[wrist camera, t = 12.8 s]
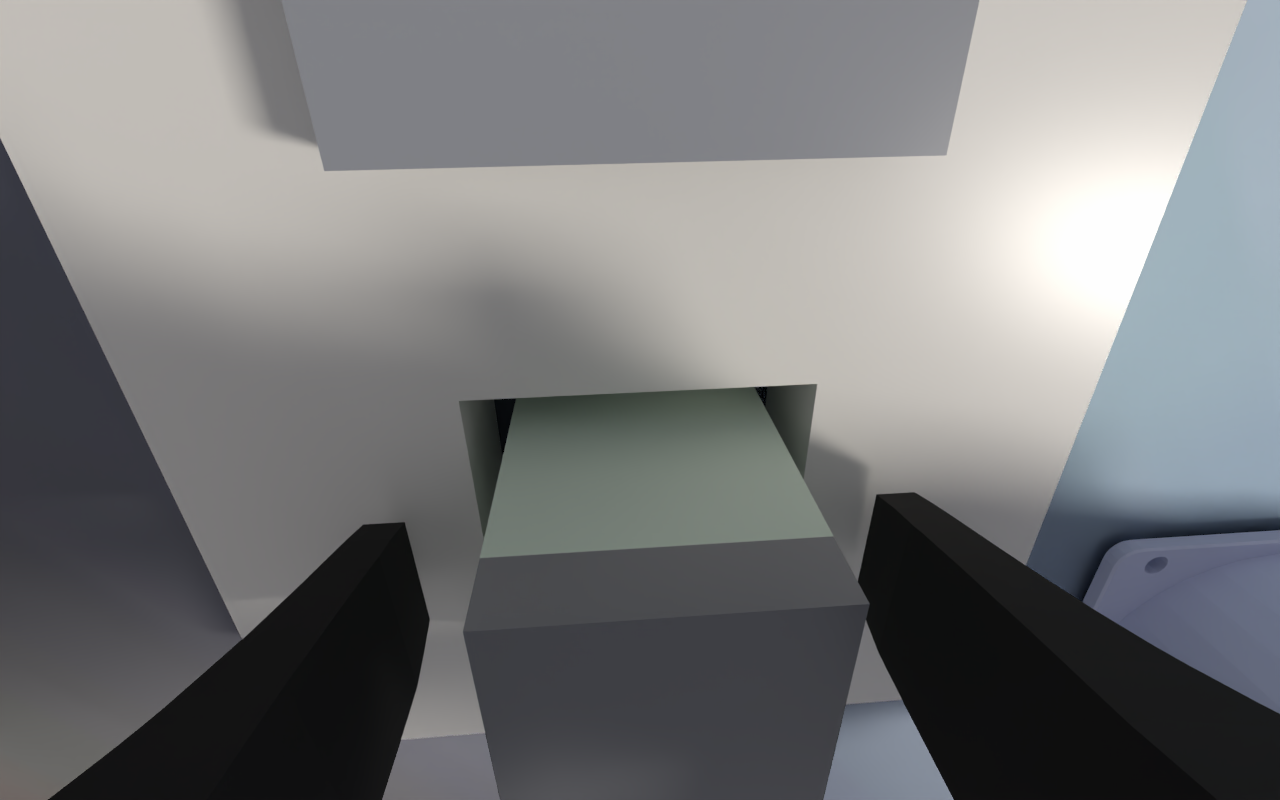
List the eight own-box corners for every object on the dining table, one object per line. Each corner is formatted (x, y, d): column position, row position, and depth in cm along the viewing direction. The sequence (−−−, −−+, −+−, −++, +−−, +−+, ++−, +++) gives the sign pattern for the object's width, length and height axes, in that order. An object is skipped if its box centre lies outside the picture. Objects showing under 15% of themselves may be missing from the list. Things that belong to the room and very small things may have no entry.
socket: (1200, -351, 7) (1455, -531, 5) (920, 605, 15) (975, 694, 13) (-46, -383, 6) (-361, -611, 4) (339, 646, 14) (294, 748, 12)
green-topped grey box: (738, 356, 11) (868, 603, 6) (726, 523, 13) (817, 821, 8) (523, 365, 11) (463, 631, 6) (543, 533, 13) (510, 849, 8)
